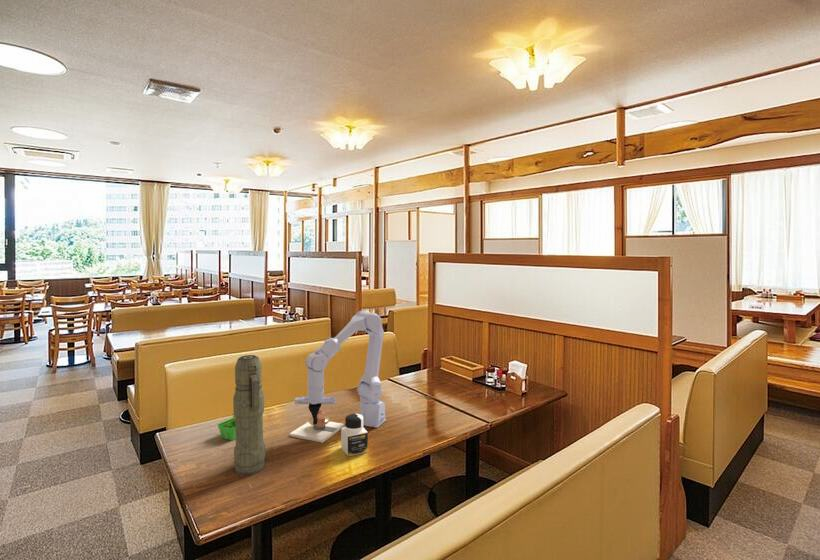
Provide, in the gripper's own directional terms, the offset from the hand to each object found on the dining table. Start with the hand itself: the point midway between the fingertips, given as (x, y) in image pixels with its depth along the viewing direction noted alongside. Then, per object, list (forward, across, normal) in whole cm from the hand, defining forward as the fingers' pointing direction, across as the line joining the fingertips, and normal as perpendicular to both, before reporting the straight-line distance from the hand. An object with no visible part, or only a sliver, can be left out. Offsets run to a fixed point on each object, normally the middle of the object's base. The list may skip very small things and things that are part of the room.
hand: (315, 423), depth 155 cm
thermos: (+6, -16, -22) cm, 28 cm away
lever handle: (+2, +1, +4) cm, 5 cm away
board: (+5, 0, +5) cm, 7 cm away
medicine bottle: (+5, +15, -11) cm, 19 cm away
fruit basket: (+6, -28, +2) cm, 29 cm away
